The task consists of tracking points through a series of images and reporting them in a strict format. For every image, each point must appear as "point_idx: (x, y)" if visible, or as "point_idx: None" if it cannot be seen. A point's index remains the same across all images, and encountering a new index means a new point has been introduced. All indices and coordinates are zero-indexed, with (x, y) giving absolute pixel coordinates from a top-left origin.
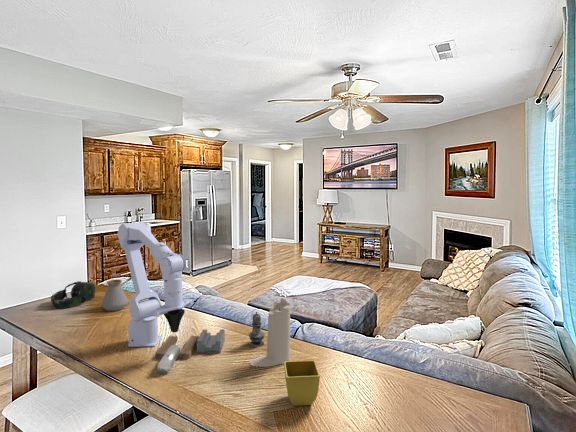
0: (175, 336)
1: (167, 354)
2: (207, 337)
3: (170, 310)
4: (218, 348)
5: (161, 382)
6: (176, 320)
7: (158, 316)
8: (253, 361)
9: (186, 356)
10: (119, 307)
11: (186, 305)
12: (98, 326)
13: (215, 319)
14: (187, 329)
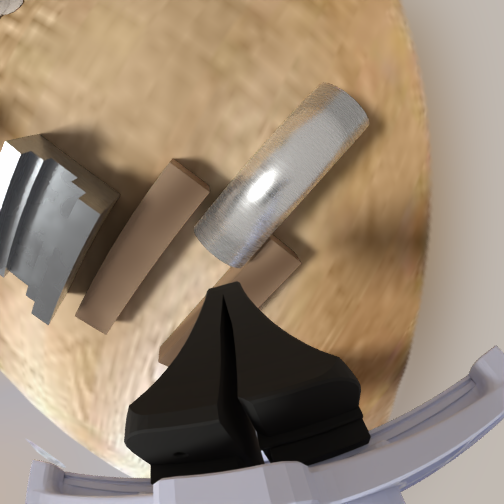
0: (165, 362)
1: (306, 167)
2: (42, 256)
3: (408, 437)
4: (33, 141)
5: (362, 57)
6: (245, 342)
7: (485, 354)
8: (7, 5)
9: (184, 169)
10: None
11: (92, 482)
12: None
13: (25, 390)
14: (107, 392)
